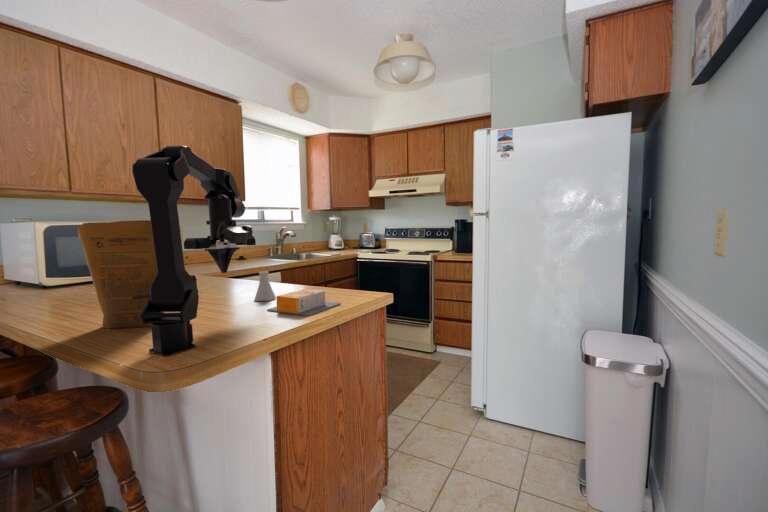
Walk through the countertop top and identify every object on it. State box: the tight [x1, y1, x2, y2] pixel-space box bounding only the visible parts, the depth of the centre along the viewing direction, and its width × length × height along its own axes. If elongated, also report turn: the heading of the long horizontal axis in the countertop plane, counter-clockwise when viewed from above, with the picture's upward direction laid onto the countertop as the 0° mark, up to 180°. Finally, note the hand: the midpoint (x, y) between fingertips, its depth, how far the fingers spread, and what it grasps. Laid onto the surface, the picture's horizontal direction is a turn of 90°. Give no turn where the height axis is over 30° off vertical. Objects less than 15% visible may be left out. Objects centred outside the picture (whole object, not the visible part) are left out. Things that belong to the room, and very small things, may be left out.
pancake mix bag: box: [77, 219, 165, 330], centre depth 91 cm, size 7×19×28 cm, turn 95°
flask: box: [254, 271, 277, 302], centre depth 122 cm, size 7×7×10 cm
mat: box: [266, 300, 342, 317], centre depth 109 cm, size 16×16×1 cm
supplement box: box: [275, 288, 326, 314], centre depth 106 cm, size 8×5×13 cm
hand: (224, 272), depth 97 cm, fingers closed
